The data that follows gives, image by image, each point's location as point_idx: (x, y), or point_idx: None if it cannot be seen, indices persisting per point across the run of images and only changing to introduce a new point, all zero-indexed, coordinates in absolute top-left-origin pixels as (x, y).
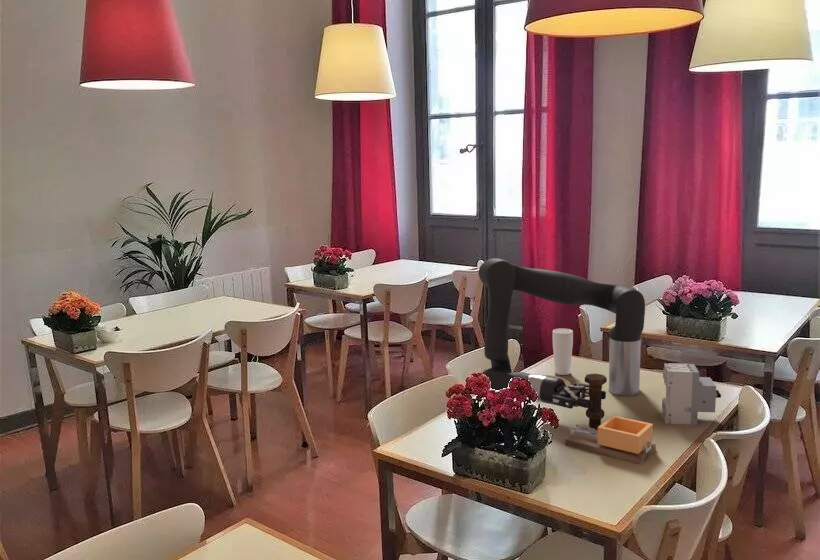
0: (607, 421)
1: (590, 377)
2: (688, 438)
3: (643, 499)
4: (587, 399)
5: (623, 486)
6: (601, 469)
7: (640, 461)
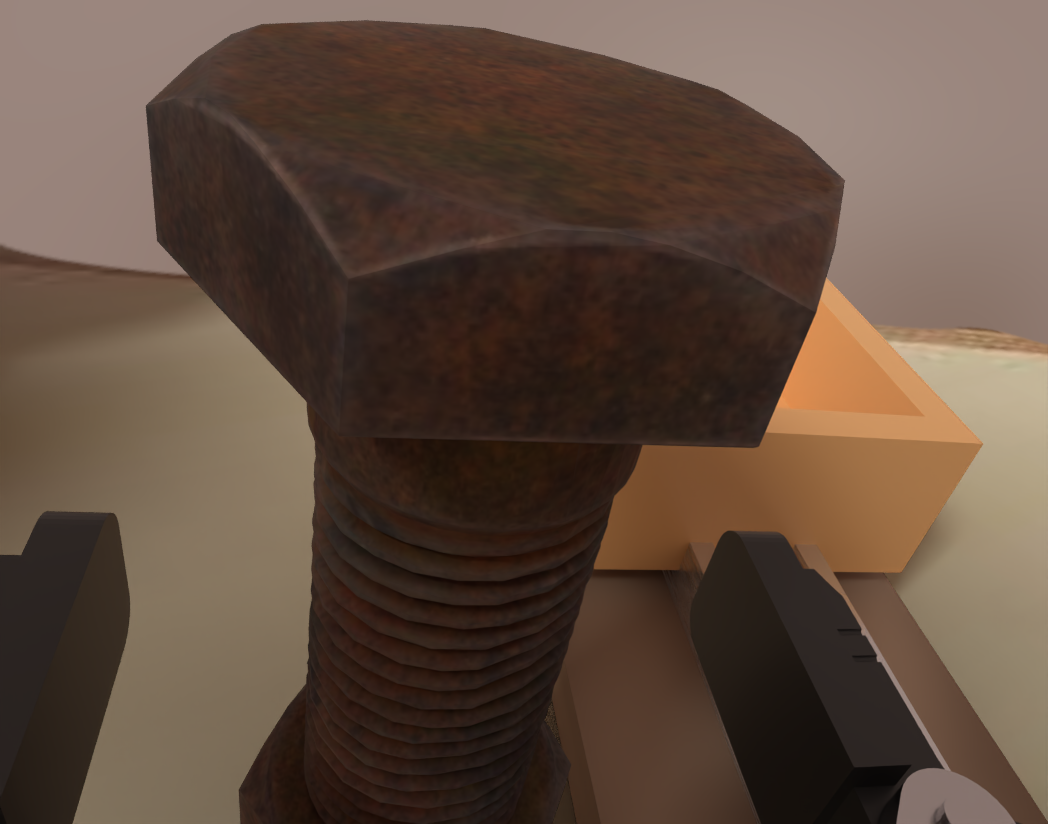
0: (794, 420)
1: (740, 158)
2: (178, 300)
3: (985, 342)
4: (776, 593)
5: (1001, 405)
6: (1005, 522)
7: None
